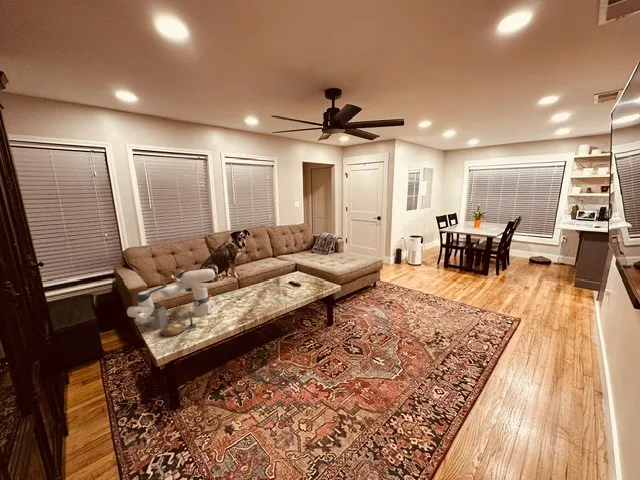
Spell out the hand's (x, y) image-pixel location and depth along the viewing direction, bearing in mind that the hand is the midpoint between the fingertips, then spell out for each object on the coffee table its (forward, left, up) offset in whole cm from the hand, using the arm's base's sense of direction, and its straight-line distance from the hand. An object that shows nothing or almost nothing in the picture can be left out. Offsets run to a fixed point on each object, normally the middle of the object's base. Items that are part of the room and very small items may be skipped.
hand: (160, 314), depth 203 cm
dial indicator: (-4, +24, -10) cm, 26 cm away
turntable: (+4, +15, -10) cm, 19 cm away
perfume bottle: (0, -1, -10) cm, 10 cm away
